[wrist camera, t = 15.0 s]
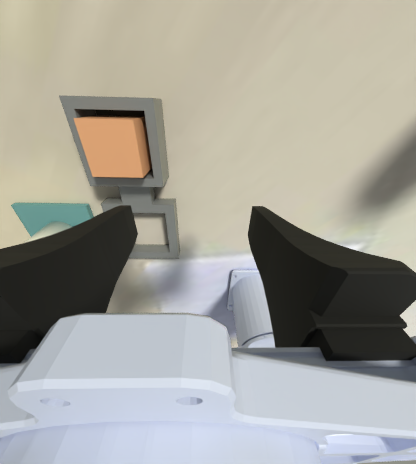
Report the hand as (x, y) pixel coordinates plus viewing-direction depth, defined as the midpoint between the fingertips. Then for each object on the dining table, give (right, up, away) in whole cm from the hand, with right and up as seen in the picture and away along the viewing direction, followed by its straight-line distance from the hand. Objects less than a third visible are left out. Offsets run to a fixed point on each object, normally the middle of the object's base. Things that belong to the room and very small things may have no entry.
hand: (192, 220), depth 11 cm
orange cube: (-6, +8, +6) cm, 11 cm away
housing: (-6, +4, +9) cm, 11 cm away
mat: (-16, -1, +12) cm, 20 cm away
